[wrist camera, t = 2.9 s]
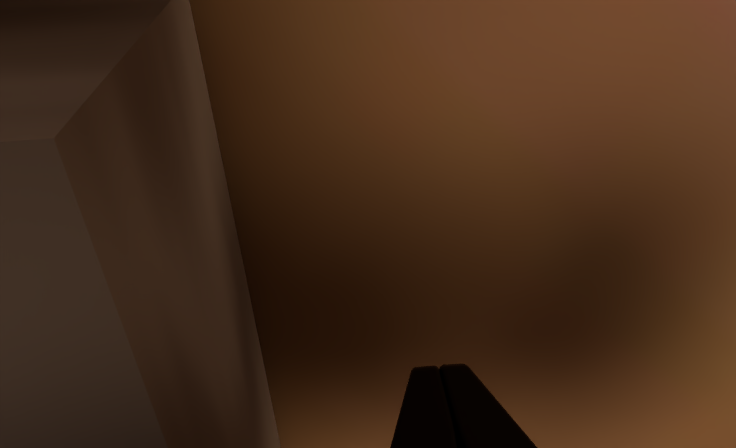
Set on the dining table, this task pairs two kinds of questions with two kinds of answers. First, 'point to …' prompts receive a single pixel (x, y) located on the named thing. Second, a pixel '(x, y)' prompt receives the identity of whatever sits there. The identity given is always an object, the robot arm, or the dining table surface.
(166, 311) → the carriage
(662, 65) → the dining table surface
